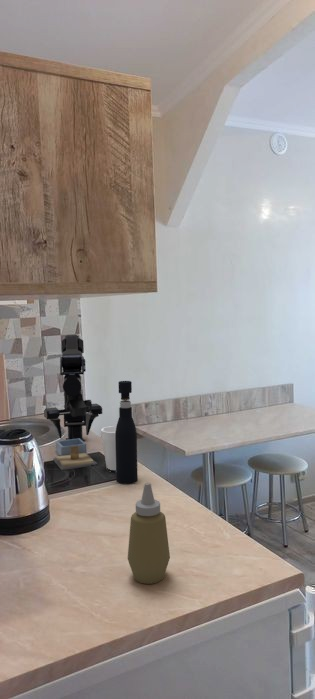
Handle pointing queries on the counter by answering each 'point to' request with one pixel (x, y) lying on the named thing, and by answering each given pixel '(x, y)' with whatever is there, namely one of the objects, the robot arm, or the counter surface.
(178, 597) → the counter surface
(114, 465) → the foam cup
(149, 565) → the squeeze bottle
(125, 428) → the black bottle
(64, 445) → the dish
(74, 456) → the lid
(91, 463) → the mat
